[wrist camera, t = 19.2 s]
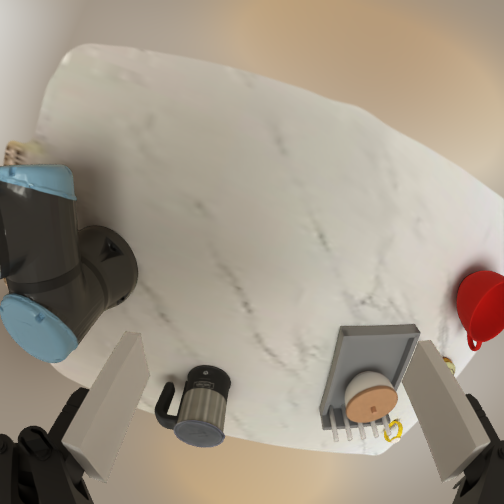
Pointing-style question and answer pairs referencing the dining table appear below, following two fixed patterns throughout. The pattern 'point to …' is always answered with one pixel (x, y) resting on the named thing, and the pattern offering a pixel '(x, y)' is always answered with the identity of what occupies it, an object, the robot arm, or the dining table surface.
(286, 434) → the dining table surface
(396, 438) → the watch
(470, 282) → the ceramic cup
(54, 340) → the robot arm
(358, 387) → the lidded jar
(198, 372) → the milk frother
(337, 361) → the dish rack
